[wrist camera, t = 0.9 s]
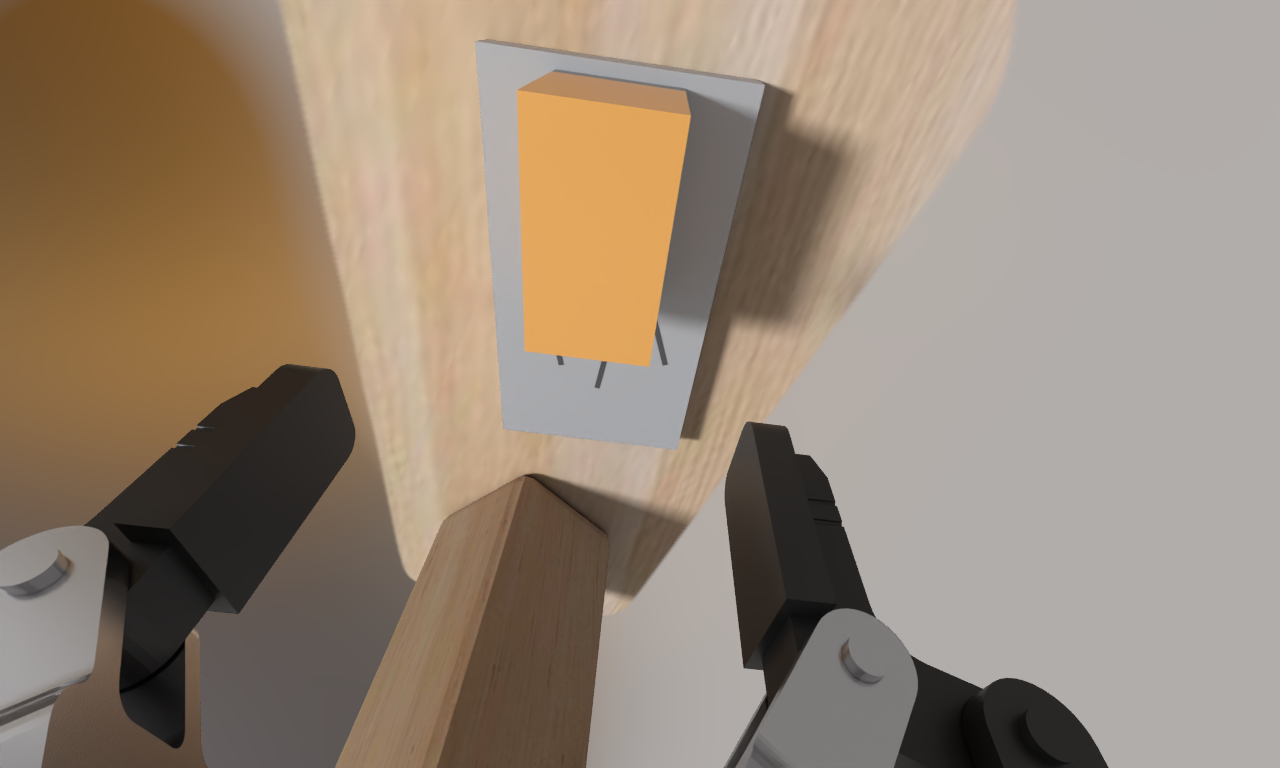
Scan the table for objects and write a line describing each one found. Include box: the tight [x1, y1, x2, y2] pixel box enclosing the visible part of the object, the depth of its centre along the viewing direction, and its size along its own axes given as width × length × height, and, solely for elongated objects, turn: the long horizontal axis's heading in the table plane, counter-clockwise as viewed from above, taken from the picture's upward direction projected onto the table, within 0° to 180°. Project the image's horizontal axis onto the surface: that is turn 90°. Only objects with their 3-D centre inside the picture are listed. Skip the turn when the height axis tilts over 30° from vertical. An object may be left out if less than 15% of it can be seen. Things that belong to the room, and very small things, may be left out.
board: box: [475, 39, 765, 450], centre depth 25 cm, size 20×11×2 cm, turn 173°
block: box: [335, 476, 610, 768], centre depth 31 cm, size 10×10×20 cm
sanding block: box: [517, 69, 691, 367], centre depth 19 cm, size 9×5×6 cm, turn 173°
